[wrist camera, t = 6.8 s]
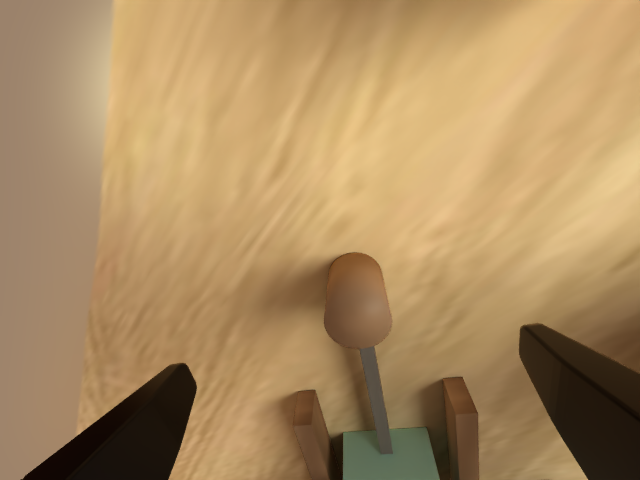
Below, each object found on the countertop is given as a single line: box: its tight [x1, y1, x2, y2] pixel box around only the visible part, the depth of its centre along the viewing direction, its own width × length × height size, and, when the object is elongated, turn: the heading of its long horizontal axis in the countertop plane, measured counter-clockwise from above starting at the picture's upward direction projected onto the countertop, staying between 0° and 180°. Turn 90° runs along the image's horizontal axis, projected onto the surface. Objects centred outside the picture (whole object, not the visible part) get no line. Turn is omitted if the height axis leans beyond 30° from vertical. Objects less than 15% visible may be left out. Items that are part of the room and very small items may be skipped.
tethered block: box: [324, 253, 440, 480], centre depth 18 cm, size 6×20×6 cm, turn 12°
